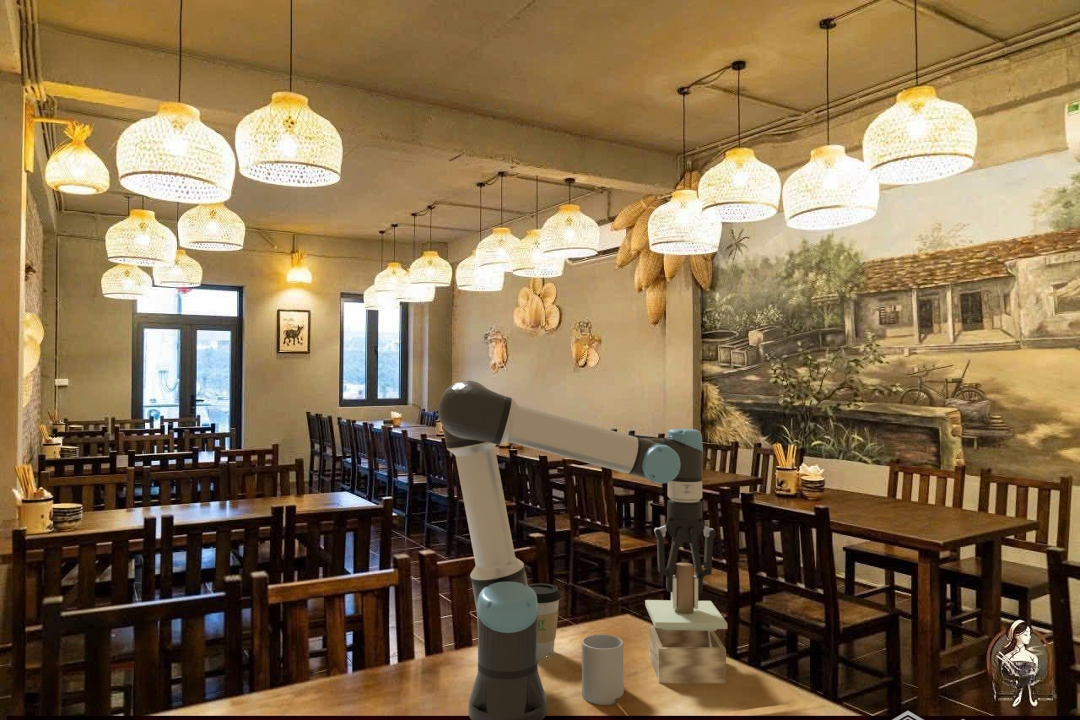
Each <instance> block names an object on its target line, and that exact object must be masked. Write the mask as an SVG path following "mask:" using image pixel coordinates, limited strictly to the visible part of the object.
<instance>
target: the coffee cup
mask: <svg viewBox="0 0 1080 720" xmlns="http://www.w3.org/2000/svg"><path fill="white" fill-rule="evenodd" d="M528 586H529V587H531V588H532V589H533V590H534V591H535V593H536V596H537V602H538V606H539V611H538V616H537V620H538V657H545V658H547V657H546V656H549V657H551V656H553V654H554V650H555V640H556V637H557V628H558V618H559V604H560V603H559V602H560V599H561V598H562V596H561V592H560V591H559V588H558V586H556V585H553V584H550V583H542V582H541V583H530V584H528ZM550 655H551V656H550Z"/></svg>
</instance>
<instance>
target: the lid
mask: <svg viewBox="0 0 1080 720" xmlns="http://www.w3.org/2000/svg"><path fill="white" fill-rule="evenodd" d="M674 573H675V574H674V575H675V577H676V578H677V608H676V609H673V608H672V606H671V599H670V600H667V599H665V600H664V599H660V600H659V599H646V600H645V599H644V602H645V603H644V604H645V605H644V606H645V607H646V610H647V612H648V613H647V614H648V615H649V617H650V619H651V622H652V624H653V626H655V628H662V630H700V631H714V632H716V631H718V630H728V622H727V621H726V619H725V617H724V616H722V613H720V611H719V610H718V609H717V607H716V606H715V605H714V603H713V602H712V600H698V609H694V575H695V568H694V563H693V564H692V563H689V562H676V565H675V570H674Z"/></svg>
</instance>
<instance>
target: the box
mask: <svg viewBox="0 0 1080 720" xmlns="http://www.w3.org/2000/svg"><path fill="white" fill-rule="evenodd" d="M648 635H649V636H648V638H649V639H648V641H649V642H648V643H649V645H648V647H649V648H648V651H649V652H648V653H649V654H648V655H649V656H648V657H649V660H650V663H651V666H652V668H653V671H654V673H655V676H656V679H657V682H658V683H659V684H727V649H726V647H725V645H724V644H723V643H722V641H721V640H720V638H719V636H718V635H717V633H716V631H700V630H662V628H655V626H654V625H649V626H648Z"/></svg>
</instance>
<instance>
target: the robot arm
mask: <svg viewBox="0 0 1080 720" xmlns="http://www.w3.org/2000/svg"><path fill="white" fill-rule="evenodd" d="M515 400H516V399H514V398H513V397H510V396H506V395H503V394H499V393H498V392H495V391H493V390H491V389H488V388H487V387H486V386H485V385H482V384H481V383H479V382H476V381H474V380H462V381H459V382H455V383H453V384H451V385H450V386H449V387H448V388H446V390H445V391H444V392H443V393H442V396H441V398H440V400H439V402H438V403H439V404H438V409H437V410H438V411H437V412H438V413H437V414H438V418H439V421H440V423H441V425H442V431H443V436H444V440H445V446H446V447H445V448H446V450H447V451H449V452H450V453H452V455H454V456H455V461H456V466H457V471H458V477H459V483H460V488H461V493H462V499H463V503H464V504H463V505H464V510H465V515H466V521H467V524H468V531H469V536H470V542H471V548H472V552H473V557H474V563H475V566H474V567H473V569H472V571H471V572H470V574H469V575H470V579H471V586H472V593H473V598H474V603H475V610H476V619H477V620H476V622H477V623H476V624H477V674H476V677H475V680H474V683H473V686H472V690H471V693H470V696H469V699H468V716H469V718H470V720H544V719H545V717H546V716H547V713H548V712H547V711H548V710H547V709H548V705H547V704H548V703H547V702H548V699H547V696H546V693H545V690H544V686H543V684H542V680H541V677H540V674H539V670H538V667H539V665H538V662H539V661H538V659H539V658H538V620H537V616H538V611H539V606H538V602H537V596H536V593H535V591H534V590H533V589H532V588H531V587H529V586H528V585H529V584H528V580H527V573H526V570H525V563H524V562H523V561H522V560H520V559H519V558H517V557H516V554H515V548H514V543H513V538H512V532H511V528H510V522H509V521H510V520H509V517H508V512H507V505H506V500H505V496H504V494H505V493H504V489H503V483H502V479H501V473H500V468H499V463H498V457H497V451H496V446H502V445H504V444H505V443H510V444H515V445H518V446H523V447H524V448H525V447H526V448H529V449H534V450H536V451H541V452H545V453H549V454H553V455H556V456H560V457H563V458H567V459H570V460H571V459H572V460H575V461H579V462H582V463H587V464H590V465H593V466H598V467H602V468H606V469H610V470H613V471H616V472H617V473H623V474H628V475H631V476H635V477H638V478H642V479H646V480H649V481H650V482H652V483H655V484H667V497H668V498H669V499H668V500H667V506H666V507H667V513H666V516H667V517H666V521H665V524H664V525H663V526H660V527H657V526H655V527H654V528H653V531H654V534H655V537H656V549H657V553H656V554H657V555H656V556H657V571H658V572H659V574H660V576H661V575H662V576H665V577H666V578H665V581H666V582H665V587H666V591H667V592H668V593H670V600H671V606H672V608H673V609H676V608H677V578H676V577H675V574H674V573H675V565H676V563H677V560H678V554H679V549H680V547H681V544H682V543H683V544H684V543H688V545H689V546H690V551H691V557H692V562H693V565H694V609H698V601H699V593H702V592H703V590H704V583H703V582H704V578H705V577H706V576H710V575H712V573H713V571H712V570H713V569H712V568H713V551H714V550H713V549H714V547H713V545H714V539H715V537H716V535H717V531H716V530H714V528H713V527H707V526H706V525H705V523H704V520H703V502H702V501H701V500H702V499H703V459H704V458H703V455H704V454H703V452H704V447H703V435H702V433H701V431H700V430H698V429H692V428H671V429H668V431H667V435H666V437H664V438H663V437H662V438H657V437H656V438H654V437H653V438H652V437H650V438H649V437H648V438H647V437H643V438H642V437H640V438H639V437H636V436H633V435H631V434H630V435H629V434H627V433H624V432H623V433H622V432H618V431H615V430H612V429H607V428H604V427H600V426H596V425H593V424H588V423H586V422H582V421H579V420H574V419H571V418H567V417H565V416H564V417H563V416H560V415H556V414H553V413H549V412H545V411H542V410H538V409H534V408H531V407H526V406H523V405H520V404H517V402H516V401H515ZM666 532H668V534H669V536H671V538H672V539H671V547H670V550H669V556H668V559H667V565H666V563H665V562H666V560H665V557H666V556H665V538H664V537H666ZM702 533H703V536H704V552H703V553H704V554H703V557H704V558H703V567H702V562H701V556H700V553H699V544H698V540H697V539H698V538H699V537H700V535H701V534H702Z"/></svg>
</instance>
